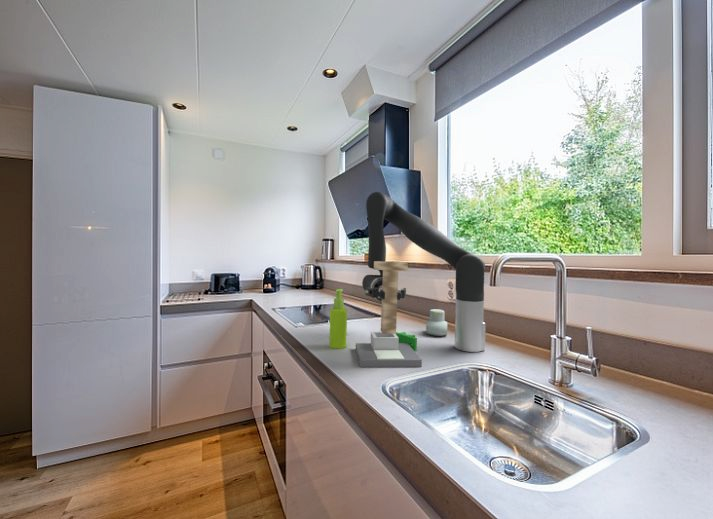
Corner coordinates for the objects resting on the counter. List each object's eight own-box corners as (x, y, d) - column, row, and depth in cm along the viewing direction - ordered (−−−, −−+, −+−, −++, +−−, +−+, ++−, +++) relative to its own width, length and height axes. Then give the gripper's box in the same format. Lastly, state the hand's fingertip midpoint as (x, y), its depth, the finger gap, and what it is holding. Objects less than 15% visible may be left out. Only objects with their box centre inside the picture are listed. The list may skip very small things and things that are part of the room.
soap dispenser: (347, 343, 113) (348, 288, 113) (345, 349, 106) (346, 290, 106) (331, 342, 114) (332, 288, 114) (327, 348, 107) (329, 290, 107)
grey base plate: (407, 348, 109) (407, 331, 108) (421, 366, 92) (422, 346, 92) (355, 349, 107) (356, 331, 107) (360, 367, 90) (360, 346, 90)
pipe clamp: (421, 350, 109) (421, 336, 108) (414, 352, 106) (414, 338, 106) (397, 342, 117) (398, 329, 117) (390, 343, 115) (391, 331, 115)
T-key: (402, 330, 98) (405, 262, 97) (405, 334, 94) (408, 262, 93) (371, 330, 97) (373, 261, 96) (372, 333, 93) (375, 261, 92)
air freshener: (426, 330, 136) (427, 307, 136) (446, 332, 134) (447, 308, 133) (425, 336, 125) (426, 311, 125) (447, 338, 123) (447, 313, 123)
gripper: (362, 277, 109) (367, 282, 92) (402, 278, 110) (415, 284, 93) (361, 299, 109) (367, 308, 92) (401, 299, 110) (414, 309, 93)
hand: (391, 296), depth 92 cm, fingers closed on T-key, 4 cm apart
